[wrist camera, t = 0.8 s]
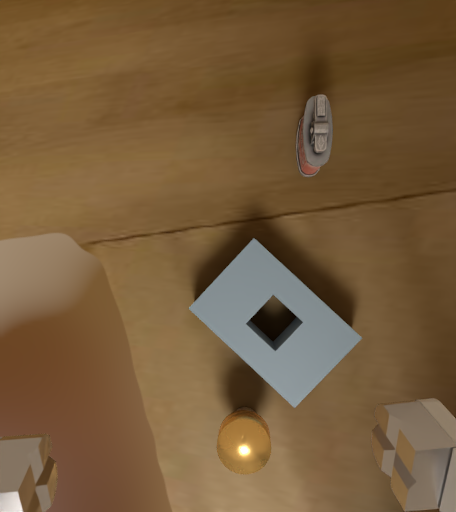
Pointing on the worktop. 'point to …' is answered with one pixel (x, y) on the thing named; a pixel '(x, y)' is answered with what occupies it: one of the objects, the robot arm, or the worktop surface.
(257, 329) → the blue-grey slotted block
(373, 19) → the worktop surface
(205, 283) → the worktop surface
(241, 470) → the orange domed piece
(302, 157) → the lighter
